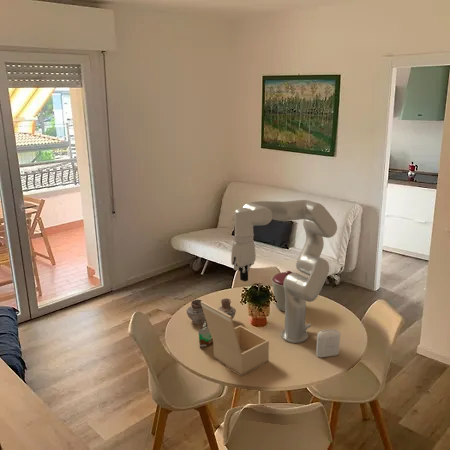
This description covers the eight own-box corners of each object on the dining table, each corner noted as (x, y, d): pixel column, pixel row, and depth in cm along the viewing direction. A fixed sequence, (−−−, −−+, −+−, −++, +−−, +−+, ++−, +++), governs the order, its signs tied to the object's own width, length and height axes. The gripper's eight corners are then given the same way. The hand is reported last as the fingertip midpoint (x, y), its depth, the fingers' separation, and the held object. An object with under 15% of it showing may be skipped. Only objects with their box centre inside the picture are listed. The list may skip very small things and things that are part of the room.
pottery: (235, 327, 231) (235, 305, 227) (185, 326, 232) (184, 305, 229) (236, 316, 242) (236, 295, 238) (188, 315, 243) (187, 294, 240)
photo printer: (335, 350, 210) (337, 325, 206) (340, 355, 206) (341, 330, 202) (314, 353, 208) (315, 328, 204) (318, 358, 204) (319, 333, 200)
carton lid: (201, 300, 194) (200, 301, 193) (231, 316, 180) (229, 317, 180) (213, 337, 203) (211, 338, 202) (241, 354, 189) (240, 355, 189)
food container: (212, 350, 211) (211, 331, 208) (198, 349, 212) (198, 330, 209) (217, 336, 222) (217, 318, 220) (205, 335, 224) (204, 317, 221)
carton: (240, 344, 216) (240, 325, 213) (268, 361, 202) (268, 340, 200) (213, 357, 206) (213, 337, 203) (241, 375, 192) (241, 354, 190)
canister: (305, 301, 257) (307, 266, 251) (303, 317, 240) (305, 279, 234) (273, 298, 261) (273, 263, 255) (268, 313, 244) (269, 276, 238)
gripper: (250, 232, 196) (250, 272, 202) (224, 240, 187) (224, 282, 192) (263, 236, 191) (263, 278, 196) (236, 245, 182) (236, 288, 187)
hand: (244, 280), depth 194 cm, fingers closed
